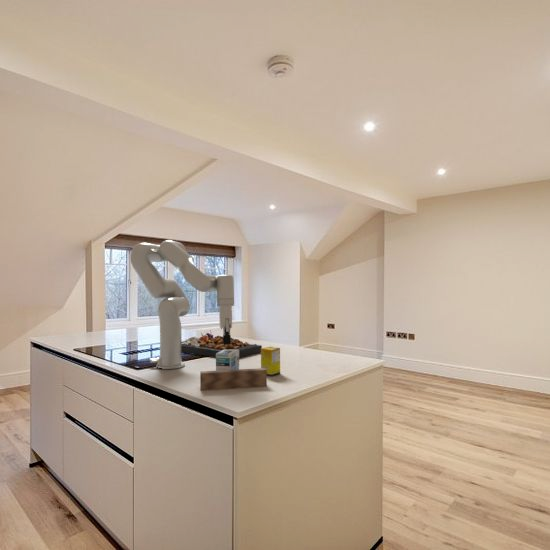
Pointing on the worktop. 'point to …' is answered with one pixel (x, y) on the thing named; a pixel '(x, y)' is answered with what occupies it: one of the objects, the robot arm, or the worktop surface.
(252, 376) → the walnut board
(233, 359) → the light bulb box
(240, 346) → the food platter
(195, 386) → the worktop surface
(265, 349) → the supplement box
